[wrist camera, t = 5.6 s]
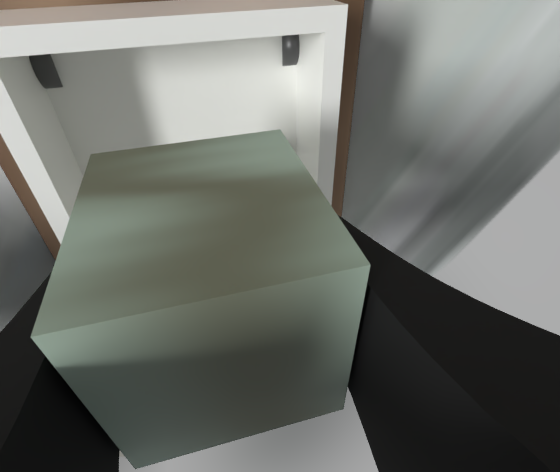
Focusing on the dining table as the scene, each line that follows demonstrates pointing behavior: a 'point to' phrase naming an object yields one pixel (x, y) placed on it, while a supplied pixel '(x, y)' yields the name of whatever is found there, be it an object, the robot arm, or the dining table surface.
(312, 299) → the block
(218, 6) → the white open box
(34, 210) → the board
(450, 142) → the dining table surface
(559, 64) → the dining table surface
